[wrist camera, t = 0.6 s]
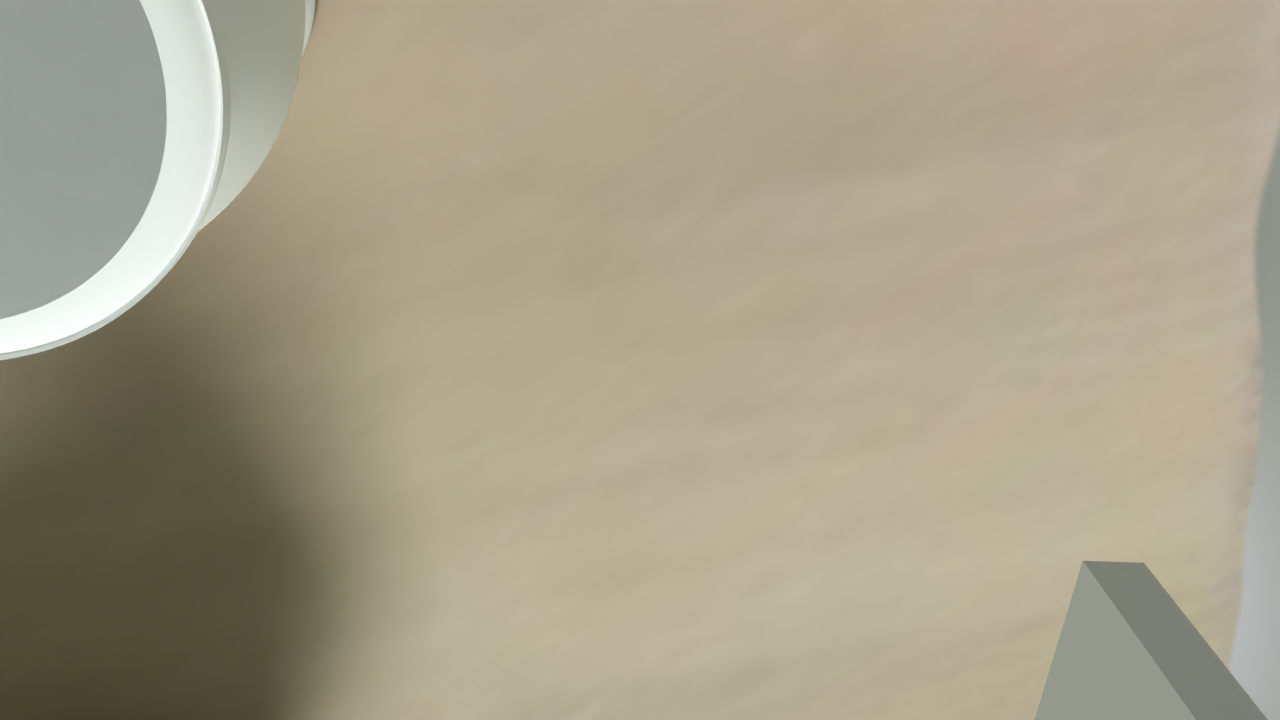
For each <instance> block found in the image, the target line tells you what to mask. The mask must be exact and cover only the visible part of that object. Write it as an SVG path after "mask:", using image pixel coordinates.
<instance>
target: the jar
mask: <svg viewBox="0 0 1280 720" xmlns="http://www.w3.org/2000/svg"><path fill="white" fill-rule="evenodd" d="M314 13H315V0H0V360H5V359H11V358H17V357H22V356H27V355H31V354H35V353H39V352H43V351H46V350H50V349H53V348H56V347H59V346H62V345H64V344H67V343H69V342H72V341H74V340H77V339H79V338H81V337H83V336H86V335H88V334H90V333H92V332H94V331H96V330H97V329H99V328H101V327H103V326H105V325H106V324H108V323H110V322H111V321H113V320H114V319H116V318H117V317H119V316H120V315H122V314H123V313H125V312H126V311H127V310H129V309H130V308H131V307H133V306H134V305H135V304H136V303H138V302H139V301H140V300H141V299H142V298H143V297H144V296H146V295H147V294H148V293H149V292H150V291H151V290H152V289H153V288H154V287H155V286H156V285H157V284H158V283H159V282H160V281H161V280H162V278H163V277H164V276H165V275H166V274H167V273H168V272H169V271H170V270H171V269H172V268H173V266H174V265H175V264H176V263H177V261H178V260H179V259H180V258H181V256H182V255H183V253H184V252H185V251H186V249H187V248H188V246H189V245H190V244H191V242H192V241H193V239H194V237H195V236H196V234H197V233H198V231H200V230H201V229H202V228H203V227H205V226H206V225H207V224H208V223H209V222H211V221H212V220H213V219H214V218H215V217H216V216H217V215H218V214H220V213H221V212H222V211H223V210H224V209H225V208H226V207H227V206H228V205H229V204H230V203H231V202H232V201H233V200H234V199H235V197H236V196H237V195H238V194H239V193H240V192H241V191H242V190H243V188H244V187H245V186H246V185H247V184H248V182H249V181H250V180H251V178H252V177H253V176H254V174H255V173H256V172H257V170H258V169H259V167H260V166H261V164H262V163H263V161H264V160H265V158H266V157H267V155H268V153H269V152H270V150H271V148H272V146H273V144H274V143H275V141H276V139H277V137H278V135H279V133H280V130H281V128H282V126H283V124H284V121H285V119H286V116H287V114H288V111H289V108H290V105H291V102H292V99H293V95H294V91H295V88H296V83H297V79H298V73H299V67H300V61H301V57H302V55H303V53H304V51H305V48H306V46H307V43H308V40H309V37H310V33H311V30H312V25H313V20H314Z"/></svg>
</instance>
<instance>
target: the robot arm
mask: <svg viewBox="0 0 1280 720" xmlns="http://www.w3.org/2000/svg"><path fill="white" fill-rule="evenodd" d="M1035 720H1267V718H1266V717H1265V716H1264V715H1263V713H1262V712H1261V711H1260V709H1259V708H1258V707H1257V706H1256V704H1255V703H1254V702H1253V701H1252V699H1251V698H1250V697H1249V695H1248V694H1247V693H1246V692H1245V691H1244V689H1243V688H1242V687H1241V685H1239V683H1238V682H1237V681H1236V679H1235V678H1234V677H1233V675H1232V674H1231V673H1230V671H1229V670H1228V669H1227V668H1226V666H1225V665H1224V664H1223V663H1222V661H1221V660H1220V659H1219V658H1218V656H1217V655H1216V654H1215V652H1214V651H1213V650H1212V649H1211V647H1210V646H1209V645H1208V644H1207V642H1206V641H1205V640H1204V639H1203V637H1202V636H1201V635H1200V633H1199V632H1198V631H1197V630H1196V628H1195V627H1194V626H1193V625H1192V623H1191V622H1190V621H1189V620H1188V618H1187V617H1186V616H1185V614H1184V613H1183V612H1182V611H1181V609H1180V608H1179V607H1178V606H1177V604H1176V603H1175V602H1174V601H1173V599H1172V598H1171V597H1170V596H1169V594H1168V593H1167V592H1166V590H1165V589H1164V588H1163V587H1162V585H1161V584H1160V583H1159V582H1158V580H1157V579H1156V578H1155V577H1154V575H1153V574H1152V573H1151V571H1150V570H1149V569H1148V568H1147V566H1146V565H1145V564H1144V563H1130V562H1102V561H1083V562H1082V566H1081V569H1080V572H1079V575H1078V579H1077V582H1076V585H1075V589H1074V592H1073V595H1072V598H1071V602H1070V605H1069V608H1068V612H1067V615H1066V618H1065V621H1064V625H1063V628H1062V631H1061V635H1060V638H1059V641H1058V644H1057V648H1056V651H1055V654H1054V658H1053V661H1052V664H1051V667H1050V671H1049V674H1048V677H1047V681H1046V684H1045V687H1044V690H1043V694H1042V697H1041V700H1040V704H1039V707H1038V710H1037V713H1036V717H1035Z"/></svg>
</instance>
